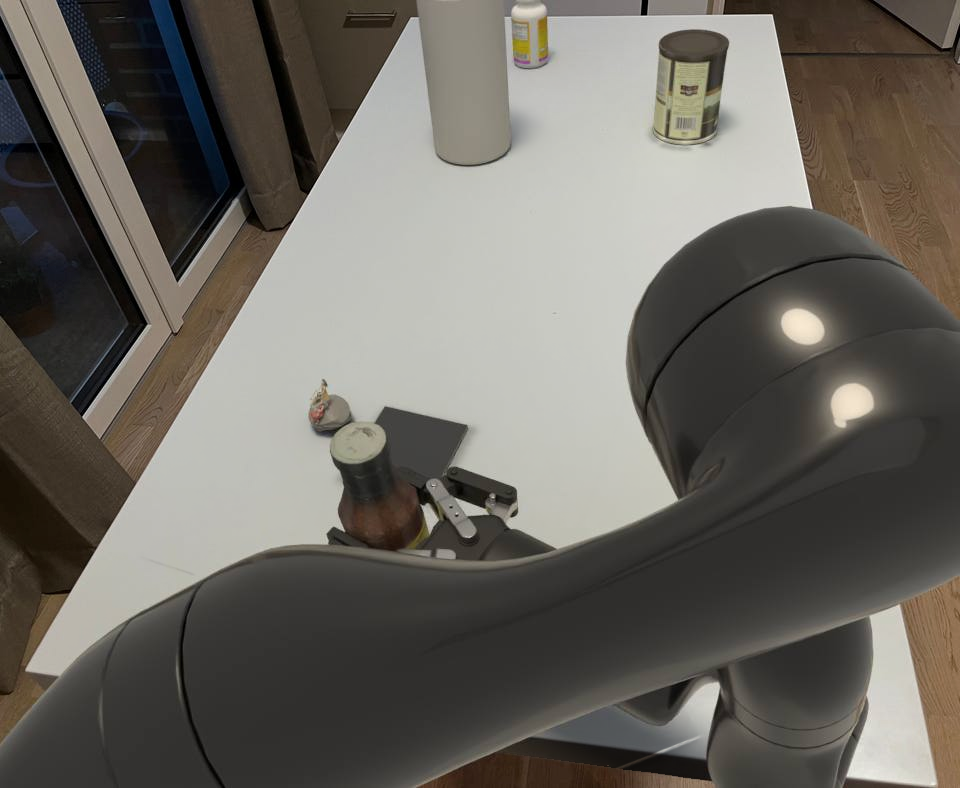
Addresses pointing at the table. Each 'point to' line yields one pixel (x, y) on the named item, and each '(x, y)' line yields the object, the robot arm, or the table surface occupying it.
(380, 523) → the sauce bottle
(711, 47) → the coffee can
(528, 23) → the supplement bottle
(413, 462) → the slate coaster
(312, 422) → the figurine
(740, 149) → the table surface
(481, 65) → the cylinder vase
